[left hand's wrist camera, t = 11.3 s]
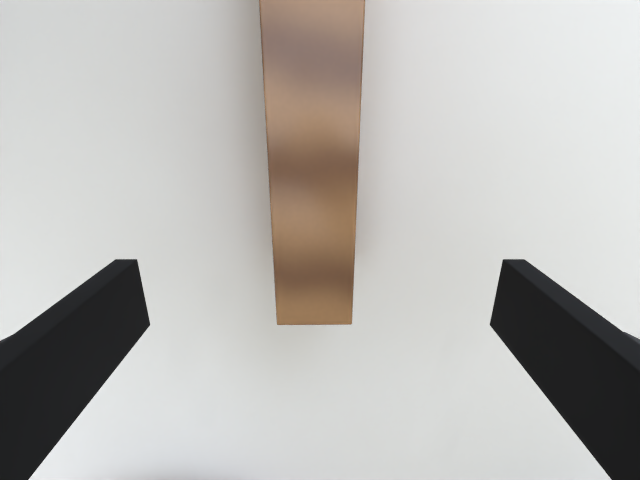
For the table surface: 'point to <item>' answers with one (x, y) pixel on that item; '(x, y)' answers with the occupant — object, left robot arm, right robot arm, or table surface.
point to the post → (313, 153)
